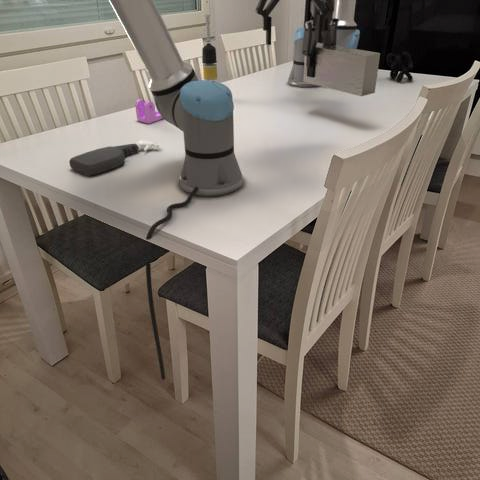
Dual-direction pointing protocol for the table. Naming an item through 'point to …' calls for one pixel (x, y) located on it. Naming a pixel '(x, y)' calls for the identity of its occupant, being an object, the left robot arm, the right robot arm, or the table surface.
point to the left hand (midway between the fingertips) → (293, 43)
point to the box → (344, 69)
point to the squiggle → (399, 66)
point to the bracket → (146, 111)
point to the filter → (209, 57)
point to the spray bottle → (106, 157)
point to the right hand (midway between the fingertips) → (317, 75)
